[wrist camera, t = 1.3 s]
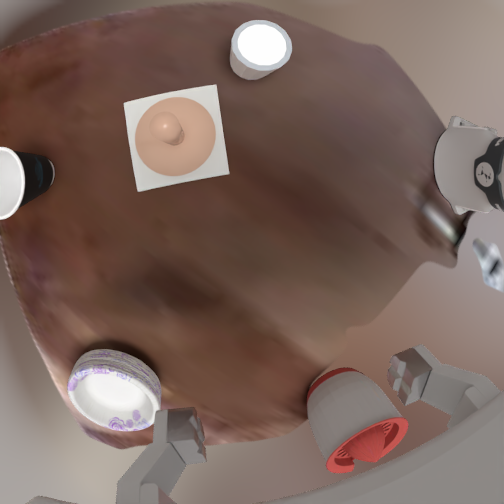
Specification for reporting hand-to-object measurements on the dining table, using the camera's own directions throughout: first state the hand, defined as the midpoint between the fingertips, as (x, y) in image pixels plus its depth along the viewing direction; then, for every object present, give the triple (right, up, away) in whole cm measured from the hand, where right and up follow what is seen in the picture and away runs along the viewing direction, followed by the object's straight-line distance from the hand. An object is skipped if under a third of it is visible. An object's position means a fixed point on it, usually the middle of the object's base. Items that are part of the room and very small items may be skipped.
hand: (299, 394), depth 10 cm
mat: (-11, +20, +24) cm, 33 cm away
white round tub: (-2, +31, +23) cm, 38 cm away
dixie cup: (-31, +16, +22) cm, 41 cm away
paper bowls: (-24, -15, +34) cm, 44 cm away
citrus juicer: (+15, -23, +44) cm, 52 cm away
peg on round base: (-11, +20, +24) cm, 33 cm away
